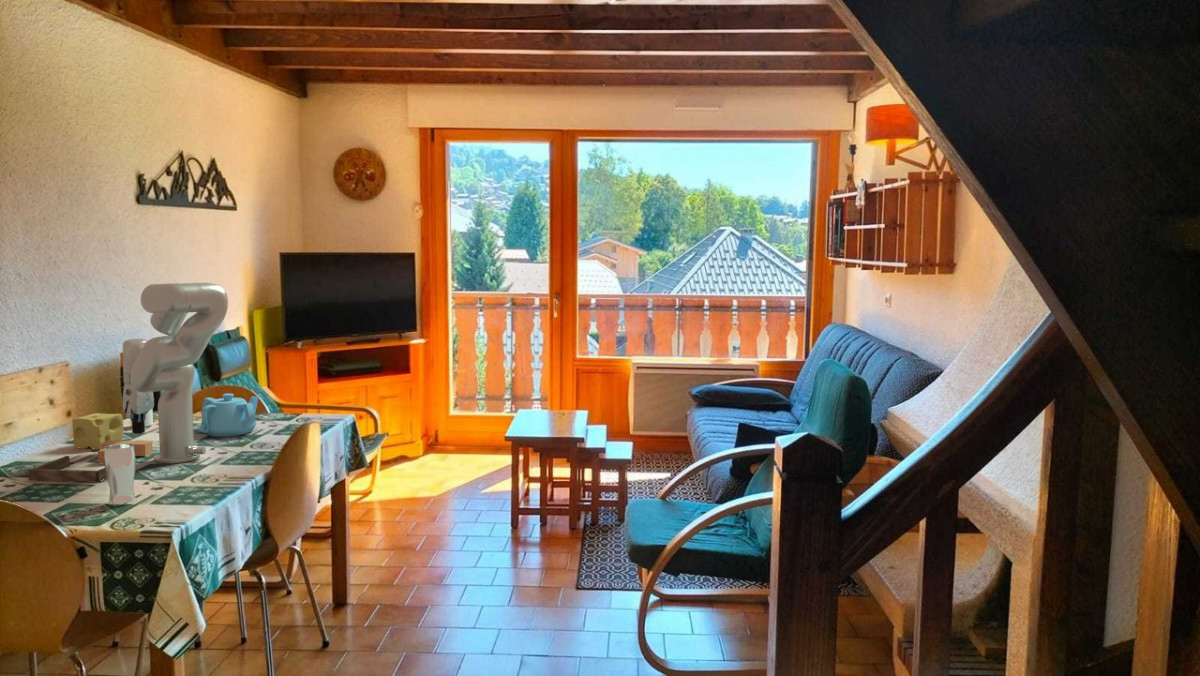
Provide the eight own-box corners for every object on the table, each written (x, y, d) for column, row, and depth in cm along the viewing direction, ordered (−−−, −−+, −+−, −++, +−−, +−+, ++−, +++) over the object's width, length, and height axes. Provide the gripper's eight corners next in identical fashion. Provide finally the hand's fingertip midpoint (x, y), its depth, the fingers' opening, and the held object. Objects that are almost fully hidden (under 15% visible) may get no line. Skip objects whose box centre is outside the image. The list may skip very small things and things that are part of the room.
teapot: (253, 436, 286) (252, 397, 284) (193, 440, 280) (191, 400, 279) (259, 425, 304) (258, 388, 302) (202, 428, 298) (201, 390, 297)
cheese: (100, 450, 264) (98, 420, 263) (71, 448, 267) (69, 418, 265) (124, 443, 275) (123, 413, 273) (97, 440, 277) (95, 411, 276)
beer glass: (143, 498, 216) (140, 442, 215) (128, 507, 210) (125, 449, 208) (116, 498, 216) (113, 442, 214) (100, 507, 209) (97, 449, 208)
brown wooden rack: (132, 467, 246) (131, 457, 245) (99, 482, 230) (98, 471, 230) (66, 465, 246) (65, 455, 246) (29, 480, 231) (28, 470, 230)
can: (131, 425, 300) (130, 392, 299) (153, 423, 303) (152, 391, 302) (130, 429, 294) (128, 396, 292) (152, 427, 297) (150, 394, 295)
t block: (152, 453, 262) (152, 441, 261) (128, 464, 249) (127, 451, 248) (109, 452, 262) (108, 440, 261) (82, 463, 249) (82, 450, 249)
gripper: (134, 382, 257) (136, 439, 260) (161, 374, 272) (162, 428, 275) (111, 381, 257) (113, 438, 260) (139, 372, 272) (140, 426, 275)
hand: (138, 432), depth 267 cm, fingers closed
